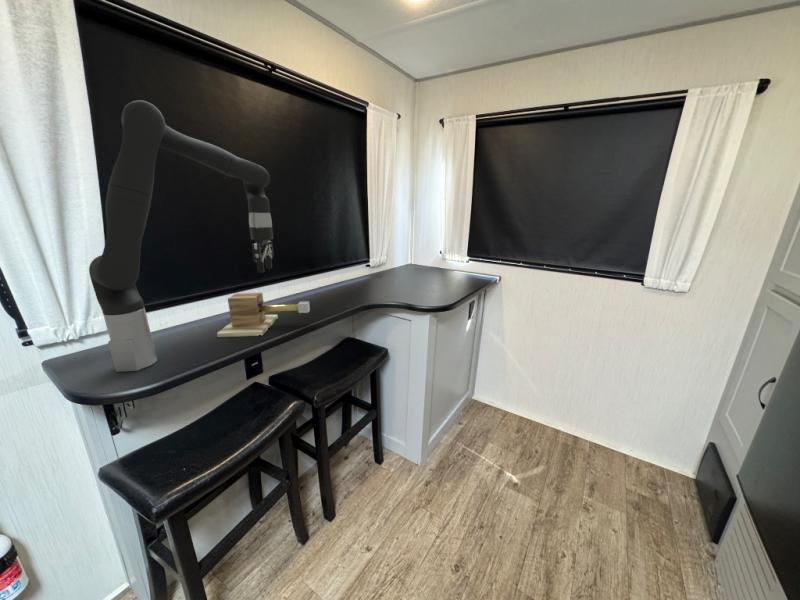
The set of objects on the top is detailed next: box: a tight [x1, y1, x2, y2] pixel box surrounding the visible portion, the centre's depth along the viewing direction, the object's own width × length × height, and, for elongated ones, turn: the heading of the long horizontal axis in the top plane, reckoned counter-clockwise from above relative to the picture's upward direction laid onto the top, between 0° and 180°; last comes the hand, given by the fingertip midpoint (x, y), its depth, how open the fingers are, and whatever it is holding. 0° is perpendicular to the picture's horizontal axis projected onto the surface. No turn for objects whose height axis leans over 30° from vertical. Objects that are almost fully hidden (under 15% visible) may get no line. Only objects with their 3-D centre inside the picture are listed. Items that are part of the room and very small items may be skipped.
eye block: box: [216, 292, 279, 338], centre depth 125 cm, size 20×16×13 cm
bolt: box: [258, 300, 311, 314], centre depth 126 cm, size 4×23×4 cm, turn 94°
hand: (265, 270), depth 119 cm, fingers open, 8 cm apart
